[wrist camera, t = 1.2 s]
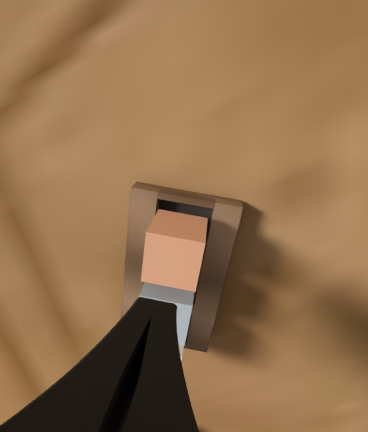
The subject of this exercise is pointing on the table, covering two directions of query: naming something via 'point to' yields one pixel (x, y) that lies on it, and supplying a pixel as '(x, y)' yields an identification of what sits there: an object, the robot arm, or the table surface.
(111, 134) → the table surface
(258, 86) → the table surface
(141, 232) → the brown flat frame
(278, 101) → the table surface
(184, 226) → the key terracotta
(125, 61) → the table surface
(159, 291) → the key slate
